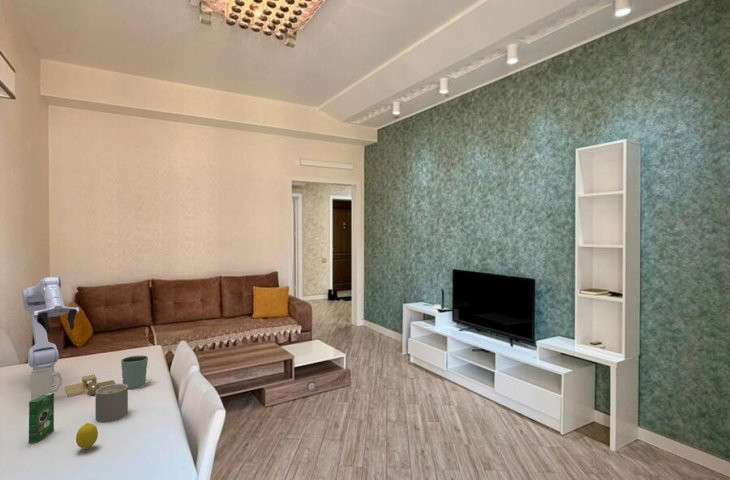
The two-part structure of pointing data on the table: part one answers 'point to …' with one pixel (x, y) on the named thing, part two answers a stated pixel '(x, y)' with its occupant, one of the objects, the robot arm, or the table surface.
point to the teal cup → (134, 371)
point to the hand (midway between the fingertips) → (60, 329)
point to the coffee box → (41, 417)
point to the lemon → (86, 436)
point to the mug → (43, 382)
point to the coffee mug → (111, 402)
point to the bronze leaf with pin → (97, 386)
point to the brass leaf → (79, 386)
